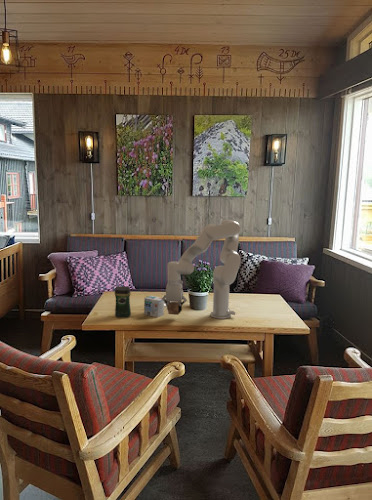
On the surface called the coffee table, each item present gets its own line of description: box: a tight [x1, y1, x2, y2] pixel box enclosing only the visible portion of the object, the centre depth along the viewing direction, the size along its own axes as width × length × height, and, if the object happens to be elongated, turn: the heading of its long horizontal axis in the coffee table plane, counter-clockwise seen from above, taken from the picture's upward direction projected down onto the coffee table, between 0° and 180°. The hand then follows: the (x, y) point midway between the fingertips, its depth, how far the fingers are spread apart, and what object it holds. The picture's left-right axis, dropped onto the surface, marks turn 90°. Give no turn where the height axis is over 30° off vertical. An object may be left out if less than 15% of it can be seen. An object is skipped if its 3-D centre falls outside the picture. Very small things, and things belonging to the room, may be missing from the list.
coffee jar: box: [114, 285, 132, 319], centre depth 247 cm, size 10×8×19 cm
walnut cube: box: [167, 301, 180, 316], centre depth 243 cm, size 6×6×6 cm
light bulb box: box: [143, 295, 165, 318], centre depth 252 cm, size 11×7×11 cm, turn 62°
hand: (174, 311), depth 244 cm, fingers closed on walnut cube, 6 cm apart
